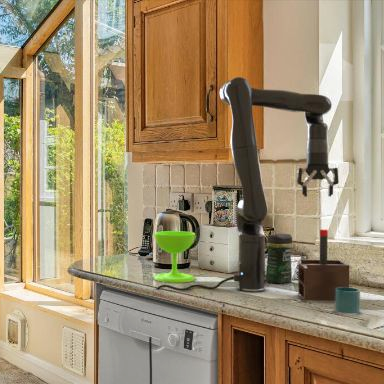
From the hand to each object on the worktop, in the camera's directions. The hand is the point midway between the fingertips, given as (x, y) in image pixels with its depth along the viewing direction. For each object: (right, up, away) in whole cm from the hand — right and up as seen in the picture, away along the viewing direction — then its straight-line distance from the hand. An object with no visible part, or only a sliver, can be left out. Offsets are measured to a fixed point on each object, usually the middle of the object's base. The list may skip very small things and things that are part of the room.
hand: (317, 196), depth 215 cm
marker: (-4, -23, -19) cm, 30 cm away
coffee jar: (-11, -33, +11) cm, 37 cm away
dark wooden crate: (-4, -34, -18) cm, 39 cm away
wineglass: (-51, -33, +18) cm, 63 cm away
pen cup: (-3, -35, -38) cm, 51 cm away
